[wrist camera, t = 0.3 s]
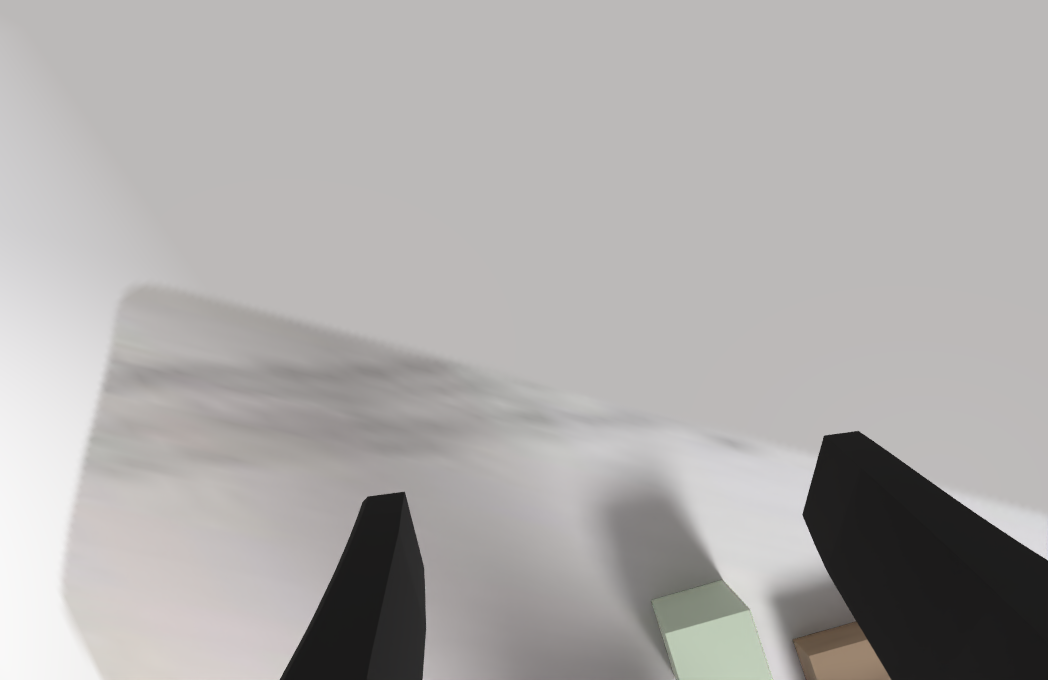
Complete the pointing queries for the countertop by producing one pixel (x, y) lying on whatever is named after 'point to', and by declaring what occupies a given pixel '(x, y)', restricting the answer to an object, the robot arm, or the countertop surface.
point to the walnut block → (839, 655)
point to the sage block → (710, 635)
